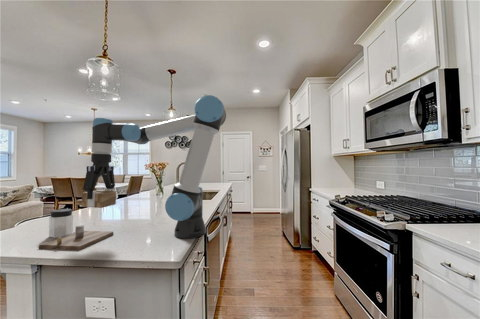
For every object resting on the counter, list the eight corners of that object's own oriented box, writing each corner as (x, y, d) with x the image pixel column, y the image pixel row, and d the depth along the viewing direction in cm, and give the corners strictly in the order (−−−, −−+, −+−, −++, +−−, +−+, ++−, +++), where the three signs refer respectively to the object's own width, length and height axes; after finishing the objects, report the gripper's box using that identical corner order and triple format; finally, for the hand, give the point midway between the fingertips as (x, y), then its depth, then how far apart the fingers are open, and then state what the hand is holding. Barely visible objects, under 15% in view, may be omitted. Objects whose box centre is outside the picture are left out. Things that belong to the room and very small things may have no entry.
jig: (113, 234, 108) (113, 221, 108) (79, 250, 88) (79, 233, 89) (79, 233, 110) (79, 220, 110) (38, 248, 90) (39, 232, 90)
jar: (47, 239, 102) (48, 212, 102) (50, 234, 109) (50, 209, 109) (71, 235, 107) (72, 210, 107) (73, 231, 114) (73, 208, 114)
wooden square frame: (115, 204, 101) (116, 191, 102) (101, 207, 93) (102, 193, 93) (86, 202, 103) (86, 189, 103) (69, 206, 94) (70, 191, 94)
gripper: (110, 154, 109) (108, 200, 109) (73, 151, 88) (70, 209, 87) (124, 155, 109) (122, 201, 108) (90, 152, 87) (88, 210, 86)
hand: (99, 204), depth 97 cm, fingers closed on wooden square frame, 9 cm apart
